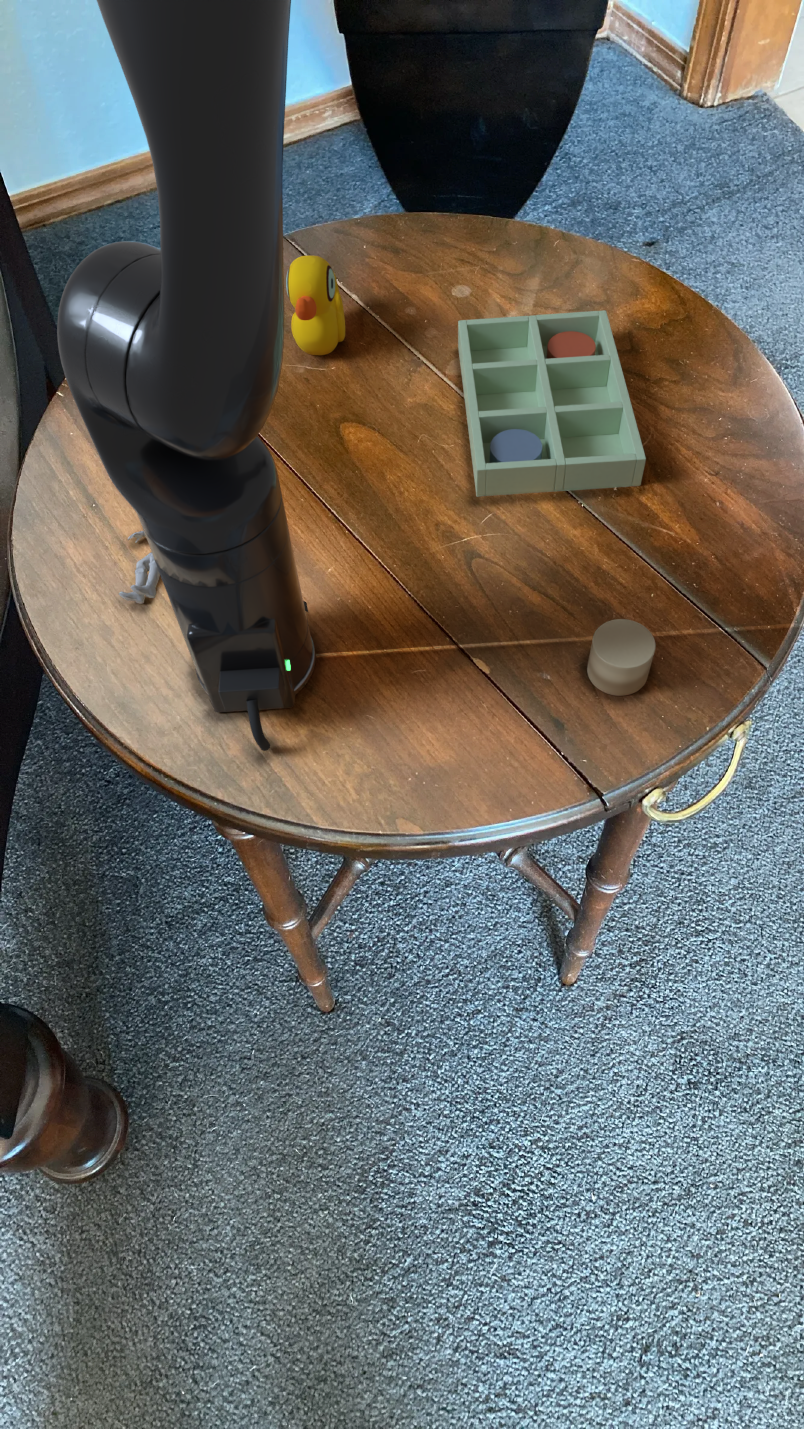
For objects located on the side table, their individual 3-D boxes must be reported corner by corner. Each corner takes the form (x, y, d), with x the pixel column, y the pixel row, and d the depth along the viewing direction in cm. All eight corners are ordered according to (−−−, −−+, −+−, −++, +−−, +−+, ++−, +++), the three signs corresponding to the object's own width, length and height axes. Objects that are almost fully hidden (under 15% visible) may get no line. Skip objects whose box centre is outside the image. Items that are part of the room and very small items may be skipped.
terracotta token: (596, 376, 93) (599, 358, 92) (549, 380, 93) (550, 362, 92) (589, 347, 96) (591, 329, 94) (543, 350, 96) (544, 332, 94)
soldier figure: (103, 604, 82) (134, 477, 85) (156, 622, 85) (184, 499, 88) (139, 584, 76) (171, 448, 79) (195, 604, 79) (224, 473, 82)
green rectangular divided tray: (601, 342, 97) (606, 309, 94) (639, 490, 85) (646, 458, 82) (458, 352, 97) (458, 319, 94) (476, 501, 86) (477, 470, 83)
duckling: (339, 384, 95) (328, 291, 87) (286, 383, 96) (269, 290, 88) (354, 314, 102) (345, 221, 93) (304, 313, 102) (290, 221, 94)
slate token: (543, 479, 86) (545, 462, 84) (491, 483, 86) (492, 465, 84) (537, 444, 88) (539, 427, 87) (487, 447, 88) (487, 430, 87)
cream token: (652, 694, 73) (661, 665, 70) (591, 697, 73) (597, 669, 70) (641, 646, 76) (649, 616, 73) (583, 649, 76) (588, 620, 73)
